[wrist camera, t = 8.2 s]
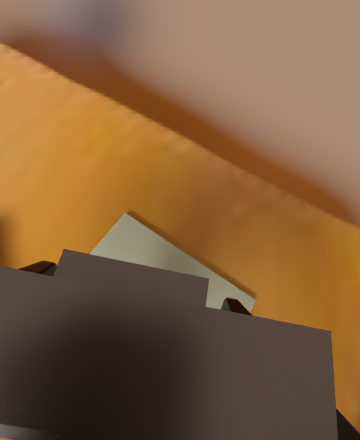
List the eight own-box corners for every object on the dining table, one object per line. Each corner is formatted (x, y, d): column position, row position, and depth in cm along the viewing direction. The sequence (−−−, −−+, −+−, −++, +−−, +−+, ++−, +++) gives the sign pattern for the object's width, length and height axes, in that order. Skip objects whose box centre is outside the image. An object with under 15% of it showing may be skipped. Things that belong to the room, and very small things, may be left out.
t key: (185, 368, 14) (346, 571, 3) (77, 348, 13) (-264, 476, 2) (193, 311, 15) (327, 281, 4) (94, 292, 14) (-75, 198, 3)
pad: (253, 300, 20) (256, 300, 20) (163, 484, 15) (163, 491, 15) (125, 215, 22) (124, 212, 21) (5, 357, 17) (0, 358, 16)
